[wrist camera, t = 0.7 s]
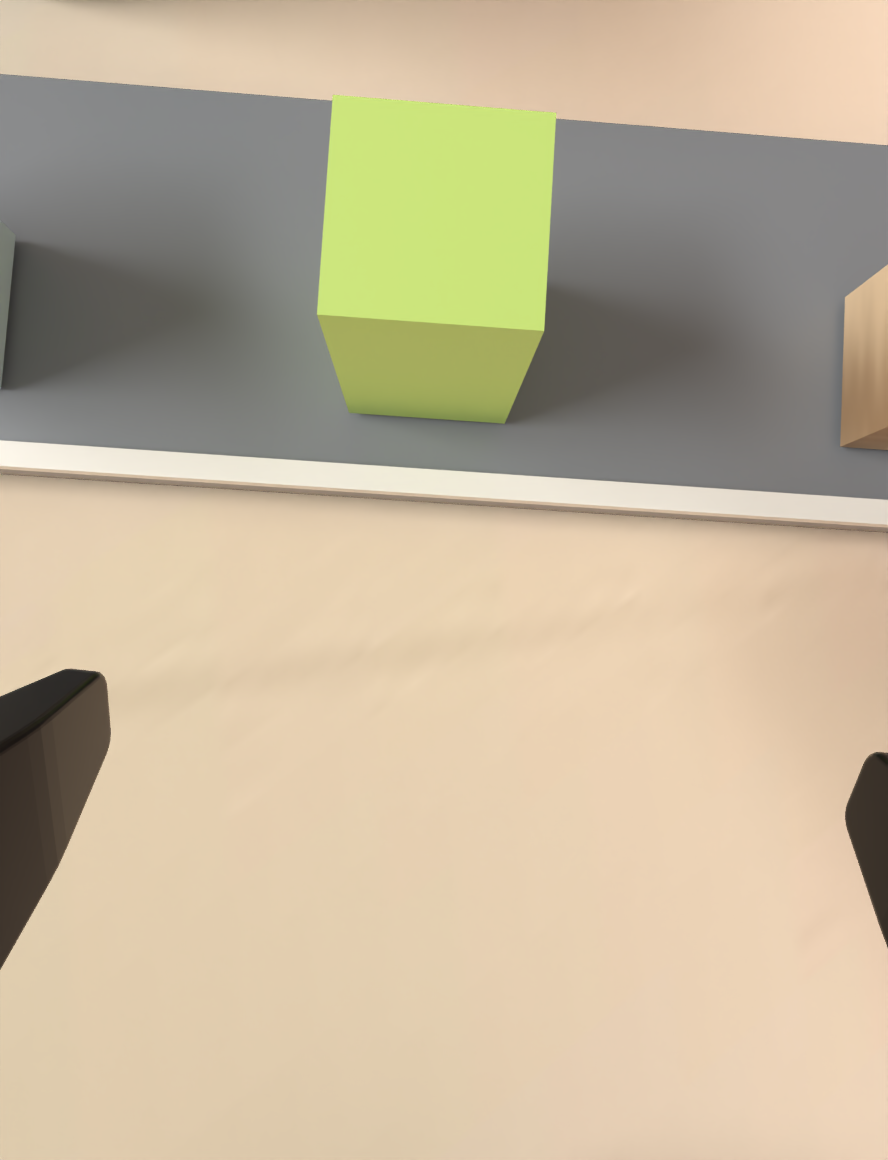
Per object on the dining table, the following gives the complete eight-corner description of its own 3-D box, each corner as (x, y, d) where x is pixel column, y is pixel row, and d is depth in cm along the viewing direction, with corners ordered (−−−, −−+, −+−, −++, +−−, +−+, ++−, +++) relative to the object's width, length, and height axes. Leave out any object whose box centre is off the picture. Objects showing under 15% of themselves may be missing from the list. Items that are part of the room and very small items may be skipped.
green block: (504, 423, 25) (544, 330, 17) (349, 412, 25) (316, 314, 17) (513, 272, 26) (556, 112, 18) (359, 261, 25) (332, 94, 17)
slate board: (1003, 540, 27) (1040, 534, 25) (-187, 461, 26) (-226, 451, 24) (1011, 174, 28) (1047, 146, 26) (-145, 81, 27) (-181, 47, 25)
